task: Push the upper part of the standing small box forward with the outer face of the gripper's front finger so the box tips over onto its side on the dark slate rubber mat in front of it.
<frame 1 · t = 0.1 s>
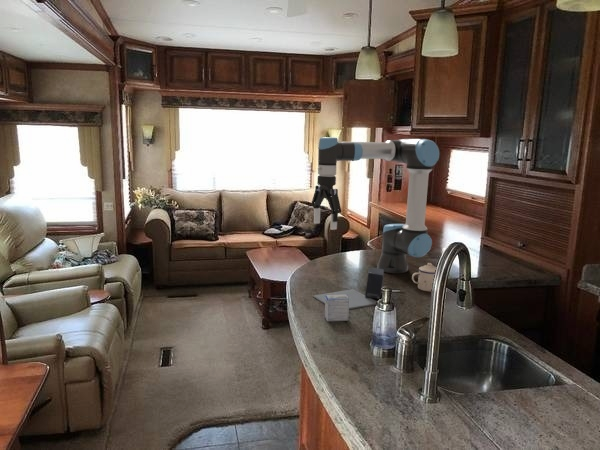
hand: (324, 226, 199), 28 cm above the worktop, tool pointing down, fingers open, 13 cm apart
teacup with lid: (424, 289, 210), on the worktop
small box: (373, 295, 199), on the worktop, touching slate mat
medicine box: (336, 319, 173), on the worktop
slate mat: (345, 300, 193), on the worktop
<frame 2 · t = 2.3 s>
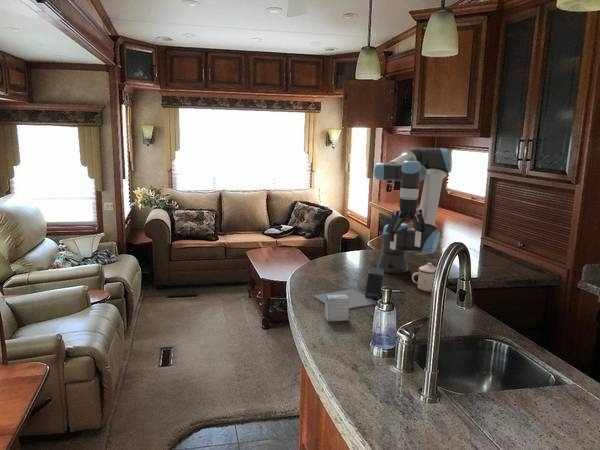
hand: (405, 247, 203), 19 cm above the worktop, tool pointing down, fingers open, 13 cm apart
nothing on the worktop moved.
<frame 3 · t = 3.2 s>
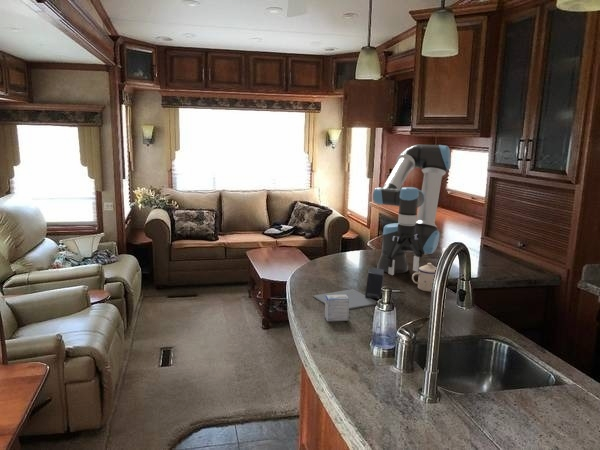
hand: (403, 272, 205), 8 cm above the worktop, tool pointing down, fingers open, 13 cm apart
nothing on the worktop moved.
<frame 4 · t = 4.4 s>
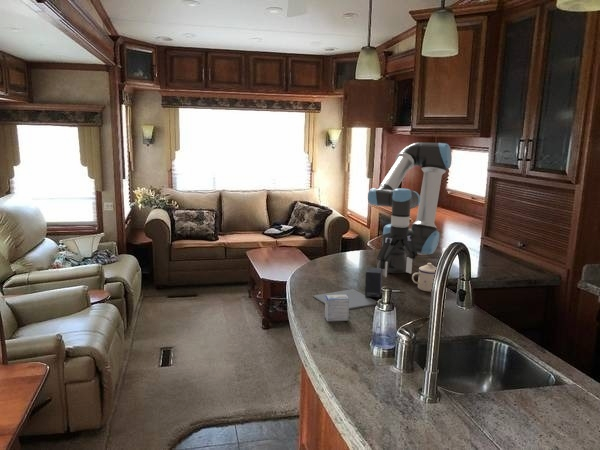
hand: (396, 274, 203), 8 cm above the worktop, tool pointing down, fingers open, 13 cm apart
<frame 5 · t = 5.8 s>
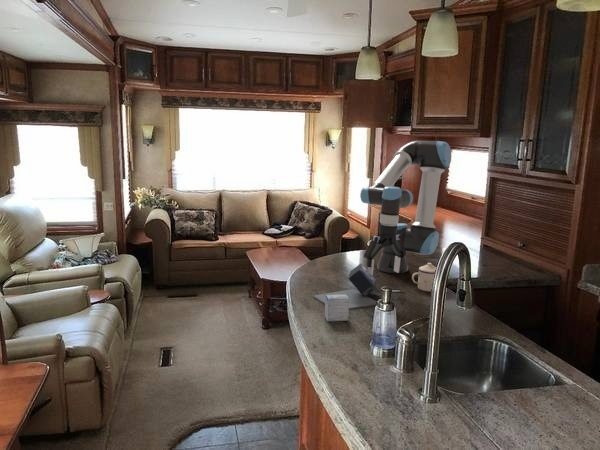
hand: (383, 273, 201), 9 cm above the worktop, tool pointing down, fingers open, 13 cm apart
small box: (371, 289, 199), point 3 cm above the worktop, touching gripper, slate mat
everything else where it was.
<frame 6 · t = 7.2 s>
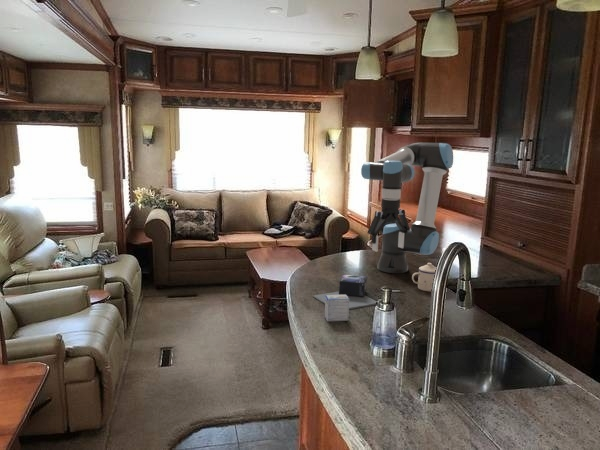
hand: (387, 249, 199), 19 cm above the worktop, tool pointing down, fingers open, 13 cm apart
small box: (365, 286, 199), point 4 cm above the worktop, touching slate mat
everything else where it was.
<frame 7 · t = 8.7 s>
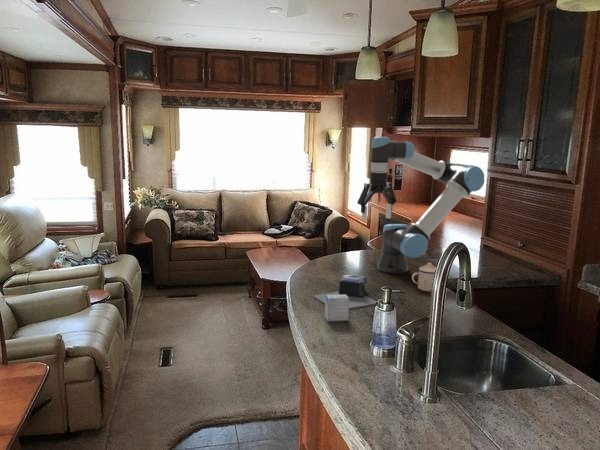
hand: (376, 219, 215), 29 cm above the worktop, tool pointing down, fingers open, 13 cm apart
nothing on the worktop moved.
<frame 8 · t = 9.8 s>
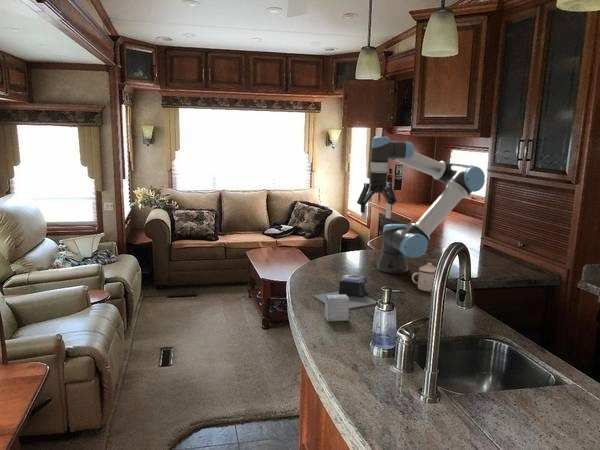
hand: (376, 219, 215), 29 cm above the worktop, tool pointing down, fingers open, 13 cm apart
nothing on the worktop moved.
at the end: small box tilted 91°; small box touching slate mat; small box inside the target area (3.0 cm from its centre), point 3.8 cm above the worktop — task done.
